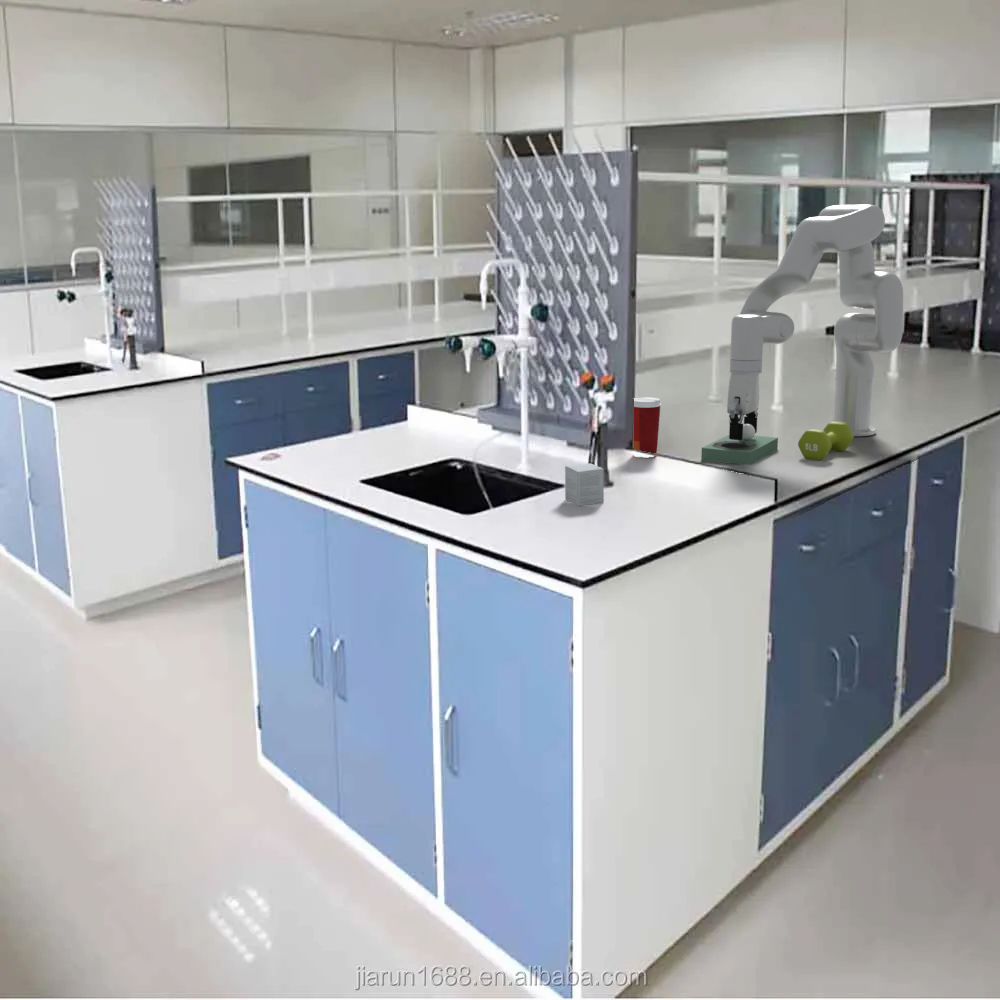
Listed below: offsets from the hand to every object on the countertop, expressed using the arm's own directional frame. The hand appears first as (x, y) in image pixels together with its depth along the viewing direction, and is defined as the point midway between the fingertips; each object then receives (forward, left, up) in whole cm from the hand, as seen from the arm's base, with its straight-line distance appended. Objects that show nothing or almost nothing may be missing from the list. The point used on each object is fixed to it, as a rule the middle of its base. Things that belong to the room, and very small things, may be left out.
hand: (743, 436), depth 260 cm
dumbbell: (-8, +18, -5) cm, 20 cm away
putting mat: (+2, 0, -4) cm, 5 cm away
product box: (+59, -12, -5) cm, 61 cm away
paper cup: (+14, -20, -5) cm, 25 cm away
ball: (-3, 0, +1) cm, 3 cm away
